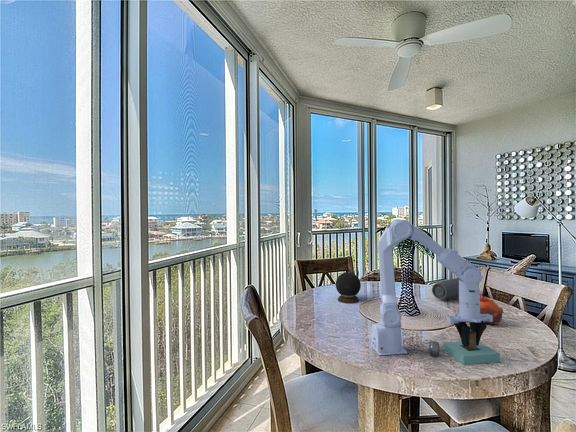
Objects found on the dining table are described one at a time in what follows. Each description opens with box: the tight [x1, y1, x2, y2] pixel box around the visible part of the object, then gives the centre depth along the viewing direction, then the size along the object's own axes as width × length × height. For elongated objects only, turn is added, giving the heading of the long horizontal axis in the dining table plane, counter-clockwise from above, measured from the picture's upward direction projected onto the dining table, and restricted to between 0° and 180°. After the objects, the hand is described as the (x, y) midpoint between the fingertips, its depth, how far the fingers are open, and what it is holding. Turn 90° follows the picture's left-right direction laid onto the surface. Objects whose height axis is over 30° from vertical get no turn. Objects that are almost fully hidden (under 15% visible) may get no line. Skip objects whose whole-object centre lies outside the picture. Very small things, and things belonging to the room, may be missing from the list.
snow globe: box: [335, 271, 362, 305], centre depth 161 cm, size 13×13×15 cm
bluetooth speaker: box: [431, 277, 462, 301], centre depth 161 cm, size 23×9×10 cm, turn 120°
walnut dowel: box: [465, 329, 476, 351], centre depth 96 cm, size 3×3×7 cm
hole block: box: [442, 340, 501, 365], centre depth 97 cm, size 12×10×2 cm
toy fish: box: [480, 295, 504, 325], centre depth 124 cm, size 12×10×11 cm
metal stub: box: [428, 340, 440, 358], centre depth 98 cm, size 3×3×4 cm
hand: (470, 344), depth 97 cm, fingers closed on walnut dowel, 3 cm apart
